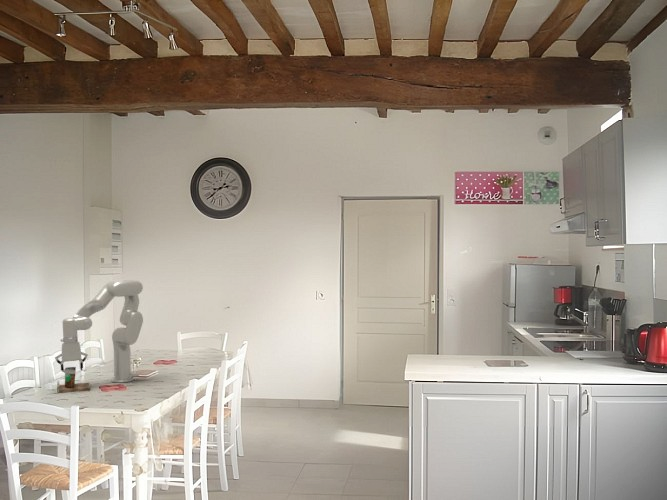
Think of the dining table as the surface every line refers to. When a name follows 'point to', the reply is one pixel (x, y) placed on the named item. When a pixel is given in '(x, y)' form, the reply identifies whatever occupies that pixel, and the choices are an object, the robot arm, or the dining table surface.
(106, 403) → the dining table surface
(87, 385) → the shelf board
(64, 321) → the robot arm
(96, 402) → the dining table surface
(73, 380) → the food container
